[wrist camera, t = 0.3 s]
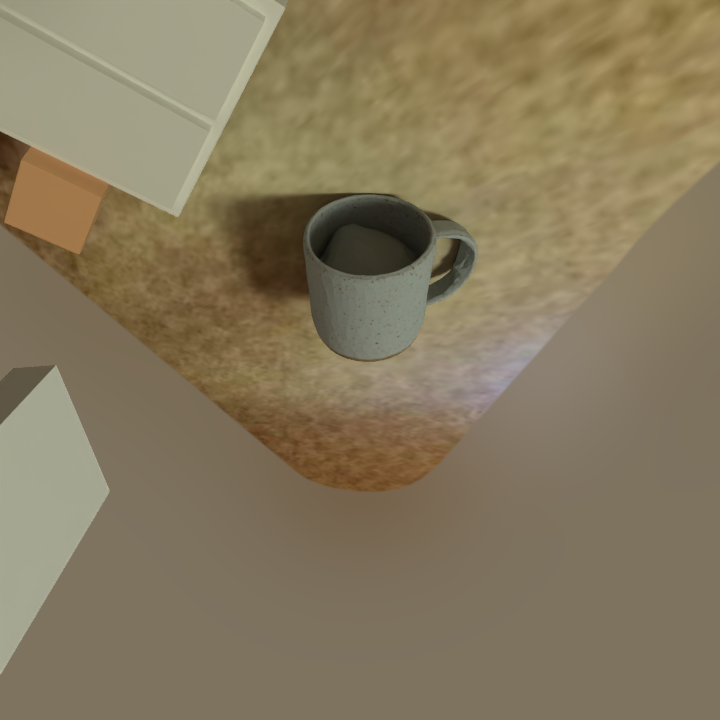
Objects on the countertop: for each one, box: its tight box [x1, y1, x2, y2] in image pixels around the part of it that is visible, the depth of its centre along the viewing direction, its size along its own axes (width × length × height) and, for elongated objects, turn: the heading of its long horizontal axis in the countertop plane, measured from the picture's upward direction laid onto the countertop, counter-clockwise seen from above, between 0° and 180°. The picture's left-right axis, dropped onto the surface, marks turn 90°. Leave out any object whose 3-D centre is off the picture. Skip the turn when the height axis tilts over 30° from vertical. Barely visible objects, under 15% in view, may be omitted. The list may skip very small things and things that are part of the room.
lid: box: [0, 0, 287, 254], centre depth 28 cm, size 16×11×2 cm
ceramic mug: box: [303, 194, 477, 362], centre depth 39 cm, size 11×8×8 cm
